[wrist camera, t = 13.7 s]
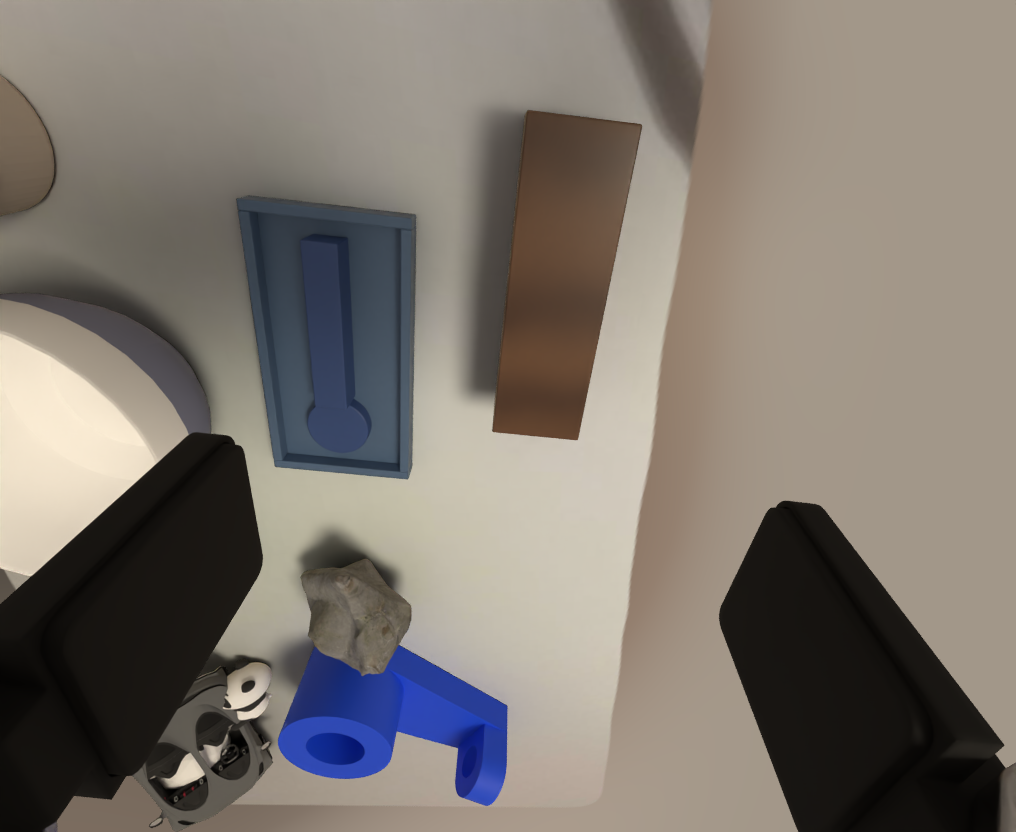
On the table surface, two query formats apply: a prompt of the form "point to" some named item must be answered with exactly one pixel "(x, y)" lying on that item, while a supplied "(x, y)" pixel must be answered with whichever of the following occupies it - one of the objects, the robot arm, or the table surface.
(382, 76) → the table surface
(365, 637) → the fossil
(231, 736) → the toy car
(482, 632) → the table surface
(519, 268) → the brown slab
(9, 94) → the coffee cup
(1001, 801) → the robot arm
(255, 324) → the blue tray
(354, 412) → the blue spoon
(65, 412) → the bowl
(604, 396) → the table surface
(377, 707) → the bracket
